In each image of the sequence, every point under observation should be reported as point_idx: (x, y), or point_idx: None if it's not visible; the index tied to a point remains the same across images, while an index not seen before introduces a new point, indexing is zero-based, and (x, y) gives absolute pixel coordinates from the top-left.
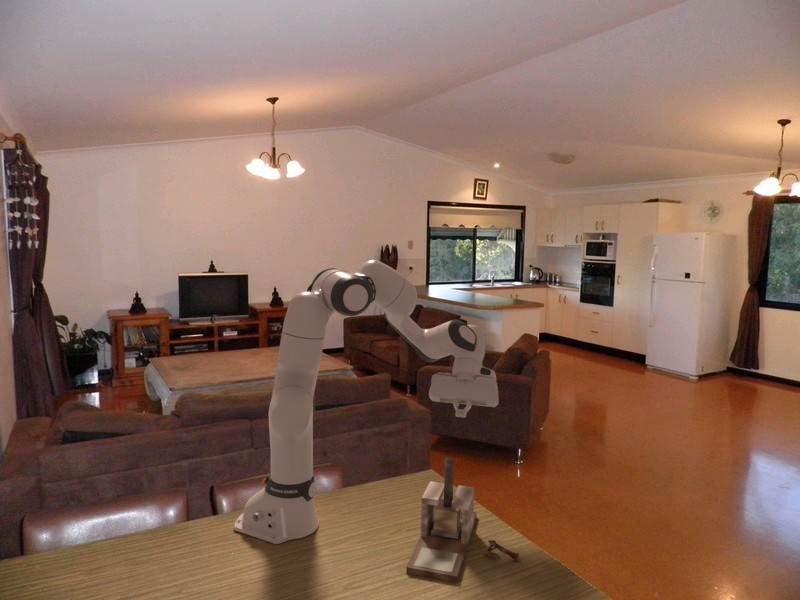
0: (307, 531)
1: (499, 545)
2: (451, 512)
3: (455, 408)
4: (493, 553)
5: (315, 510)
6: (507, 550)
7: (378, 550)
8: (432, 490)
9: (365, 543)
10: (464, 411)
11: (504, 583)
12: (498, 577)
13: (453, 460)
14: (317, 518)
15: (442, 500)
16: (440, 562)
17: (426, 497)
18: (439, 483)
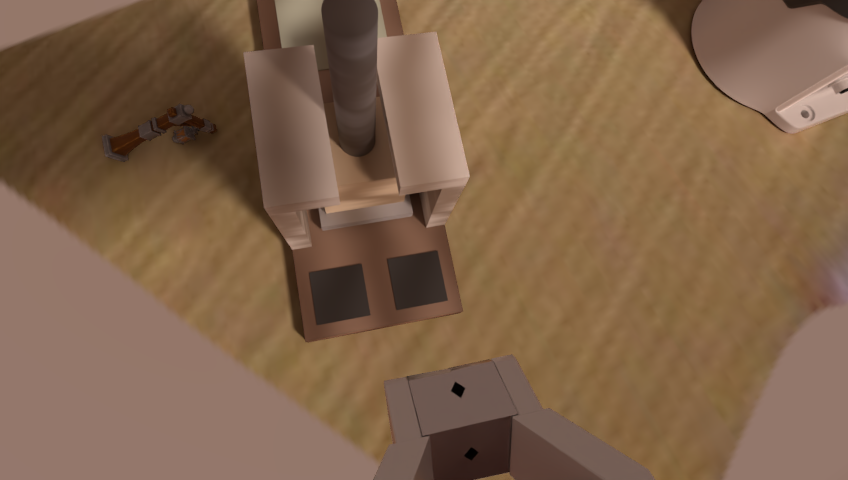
0: (701, 17)
1: (160, 125)
2: (328, 104)
3: (551, 411)
4: (188, 130)
5: (746, 50)
6: (138, 134)
7: (500, 40)
8: (424, 102)
9: (547, 54)
10: (406, 410)
11: (138, 39)
12: (158, 56)
13: (322, 7)
14: (725, 71)
15: (392, 167)
16: (316, 18)
17: (420, 39)
18: (424, 174)
